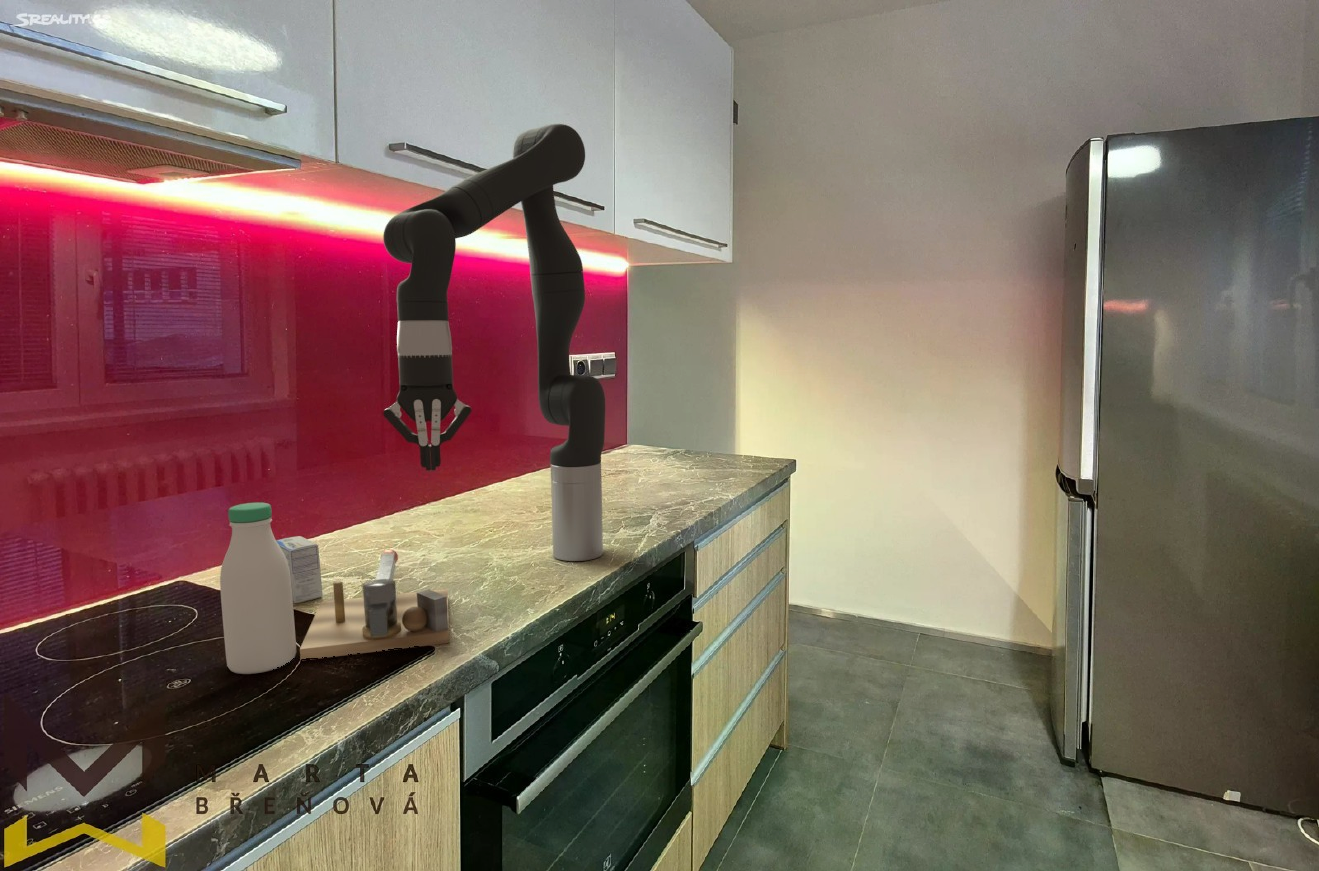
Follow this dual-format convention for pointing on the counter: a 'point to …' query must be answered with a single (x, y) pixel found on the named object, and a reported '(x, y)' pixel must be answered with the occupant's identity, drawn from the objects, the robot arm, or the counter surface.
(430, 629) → the base
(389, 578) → the lever
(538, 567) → the counter surface
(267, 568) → the milk bottle
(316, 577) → the medicine box
